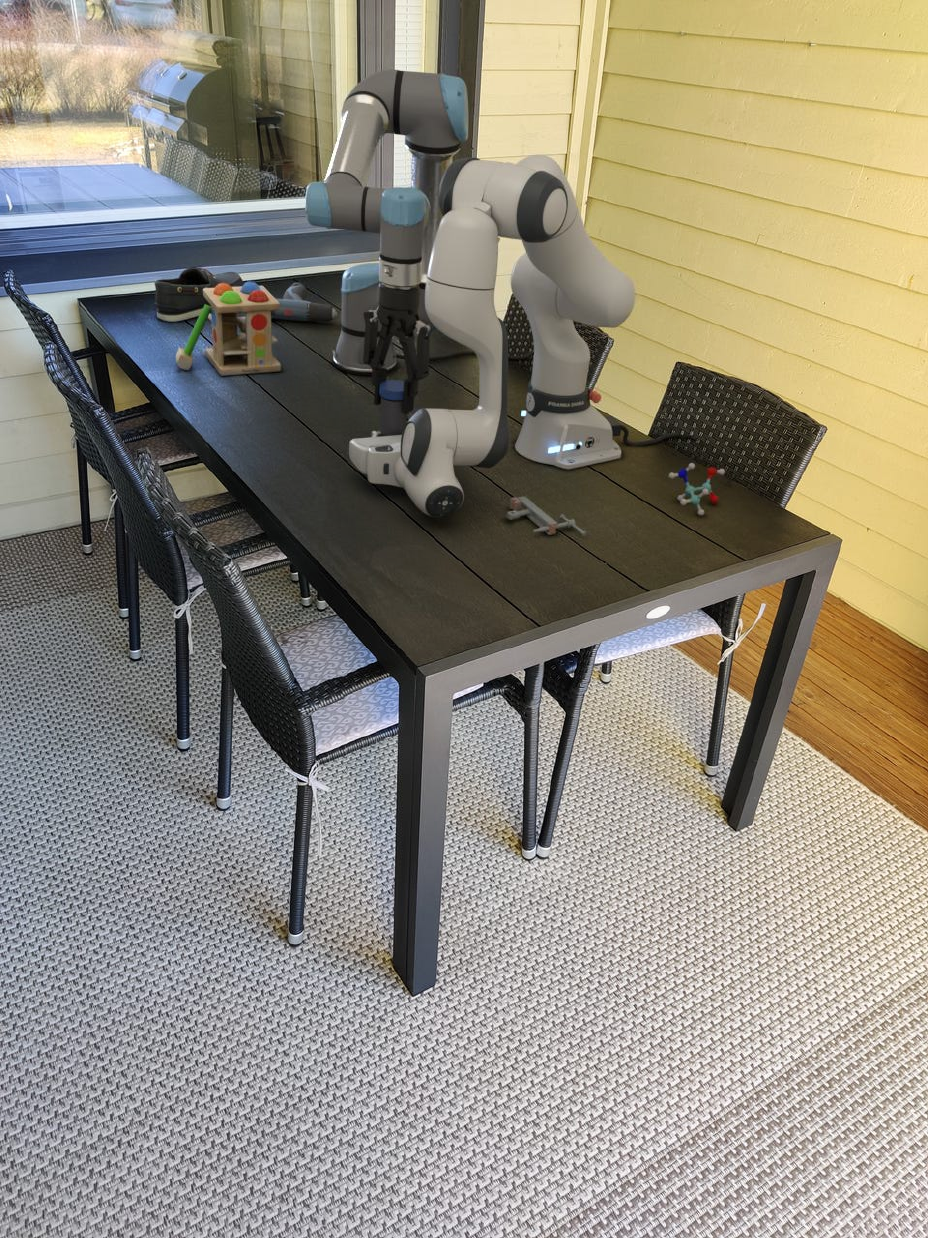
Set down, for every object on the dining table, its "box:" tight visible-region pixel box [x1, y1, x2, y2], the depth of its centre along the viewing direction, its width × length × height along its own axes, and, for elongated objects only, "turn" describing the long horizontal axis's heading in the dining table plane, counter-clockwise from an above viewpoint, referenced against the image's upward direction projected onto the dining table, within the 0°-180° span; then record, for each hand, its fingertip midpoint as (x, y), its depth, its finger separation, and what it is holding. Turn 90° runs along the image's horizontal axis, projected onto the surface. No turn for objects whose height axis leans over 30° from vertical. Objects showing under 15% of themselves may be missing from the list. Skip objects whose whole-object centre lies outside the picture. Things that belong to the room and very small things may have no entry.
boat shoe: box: [153, 265, 244, 323], centre depth 262 cm, size 13×33×10 cm, turn 147°
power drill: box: [271, 282, 338, 322], centre depth 265 cm, size 5×19×20 cm
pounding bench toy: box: [174, 281, 282, 377], centre depth 225 cm, size 23×14×18 cm, turn 116°
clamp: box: [506, 496, 587, 537], centre depth 177 cm, size 15×2×10 cm
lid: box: [379, 379, 404, 400], centre depth 185 cm, size 6×6×2 cm
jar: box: [379, 397, 408, 436], centre depth 189 cm, size 5×5×16 cm
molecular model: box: [668, 462, 726, 517], centre depth 188 cm, size 12×10×10 cm
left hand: (393, 406), depth 187 cm, fingers closed on lid, 6 cm apart
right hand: (390, 432), depth 191 cm, fingers closed on jar, 5 cm apart
